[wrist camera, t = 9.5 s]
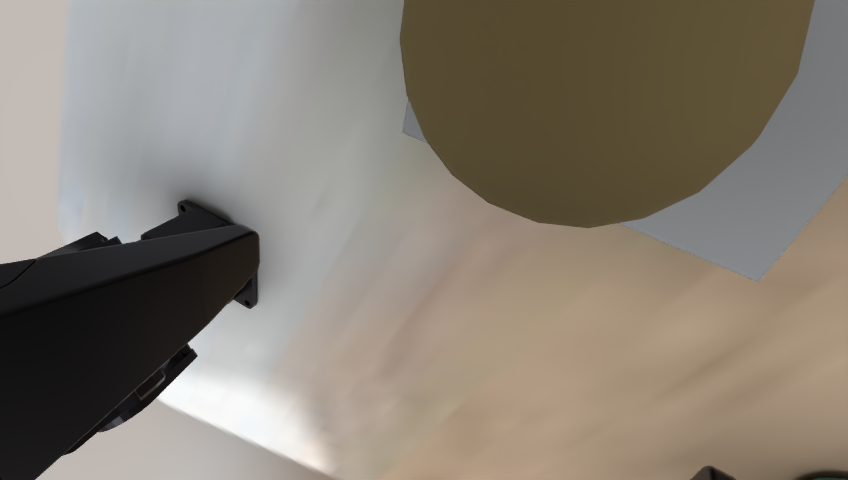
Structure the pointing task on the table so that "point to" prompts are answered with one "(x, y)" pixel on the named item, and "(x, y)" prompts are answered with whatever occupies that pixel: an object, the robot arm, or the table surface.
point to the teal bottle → (830, 478)
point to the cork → (596, 96)
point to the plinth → (767, 165)
